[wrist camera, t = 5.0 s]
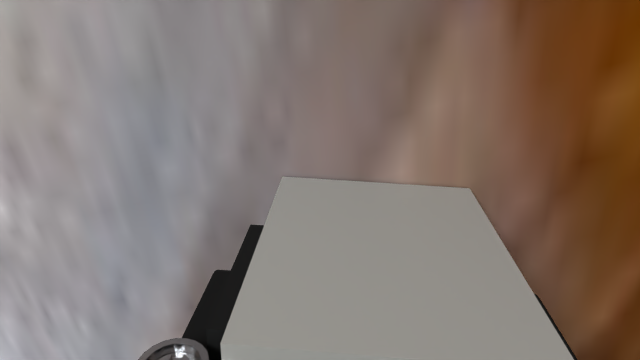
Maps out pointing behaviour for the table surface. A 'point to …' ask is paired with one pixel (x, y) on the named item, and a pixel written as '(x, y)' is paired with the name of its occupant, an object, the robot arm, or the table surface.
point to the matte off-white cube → (384, 280)
